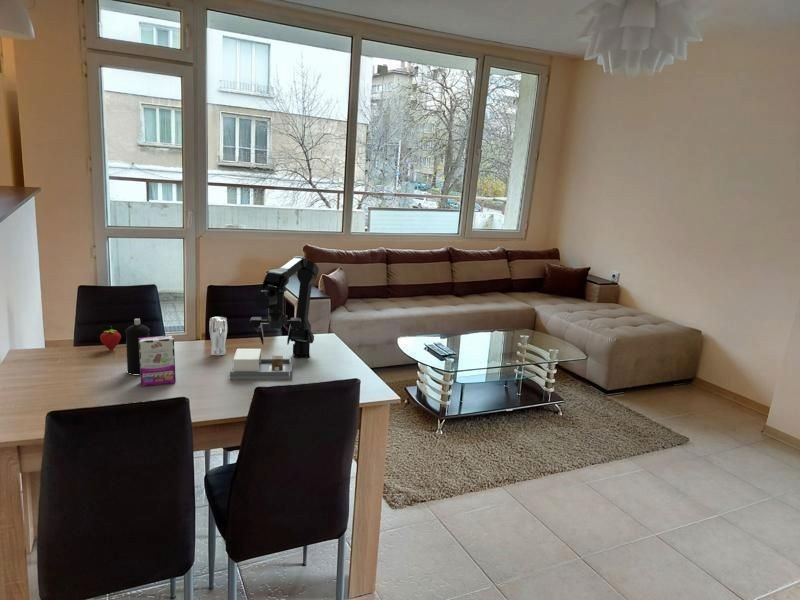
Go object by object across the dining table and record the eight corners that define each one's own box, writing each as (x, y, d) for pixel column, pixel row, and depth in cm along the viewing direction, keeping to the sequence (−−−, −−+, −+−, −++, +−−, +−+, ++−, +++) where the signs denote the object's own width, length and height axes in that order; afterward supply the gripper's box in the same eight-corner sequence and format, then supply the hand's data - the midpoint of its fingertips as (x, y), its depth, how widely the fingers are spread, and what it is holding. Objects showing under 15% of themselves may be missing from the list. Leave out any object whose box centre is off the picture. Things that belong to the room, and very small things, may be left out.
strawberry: (100, 348, 217) (99, 325, 215) (121, 347, 221) (120, 323, 219) (100, 353, 212) (99, 328, 210) (121, 351, 216) (120, 327, 214)
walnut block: (282, 366, 207) (282, 355, 206) (282, 370, 203) (282, 359, 202) (272, 366, 206) (272, 355, 205) (271, 370, 202) (271, 359, 202)
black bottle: (156, 370, 198) (154, 318, 194) (137, 377, 191) (135, 323, 186) (140, 366, 201) (138, 315, 197) (121, 372, 194) (119, 319, 189)
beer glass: (221, 357, 217) (221, 321, 214) (206, 355, 218) (205, 319, 215) (230, 352, 224) (230, 317, 220) (215, 350, 225) (215, 315, 222)
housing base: (291, 364, 214) (292, 357, 213) (291, 379, 198) (291, 371, 198) (234, 364, 209) (234, 356, 209) (230, 379, 194) (230, 371, 193)
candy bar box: (174, 378, 192) (173, 334, 188) (175, 383, 188) (174, 338, 184) (140, 381, 187) (138, 337, 183) (140, 387, 182) (138, 341, 179)
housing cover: (260, 362, 210) (261, 348, 208) (258, 373, 197) (258, 359, 196) (237, 362, 208) (237, 348, 206) (233, 374, 196) (233, 359, 194)
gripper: (248, 309, 190) (248, 350, 193) (301, 310, 193) (300, 351, 197) (251, 302, 200) (250, 341, 203) (301, 303, 204) (300, 342, 207)
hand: (275, 344), depth 202 cm, fingers open, 9 cm apart
